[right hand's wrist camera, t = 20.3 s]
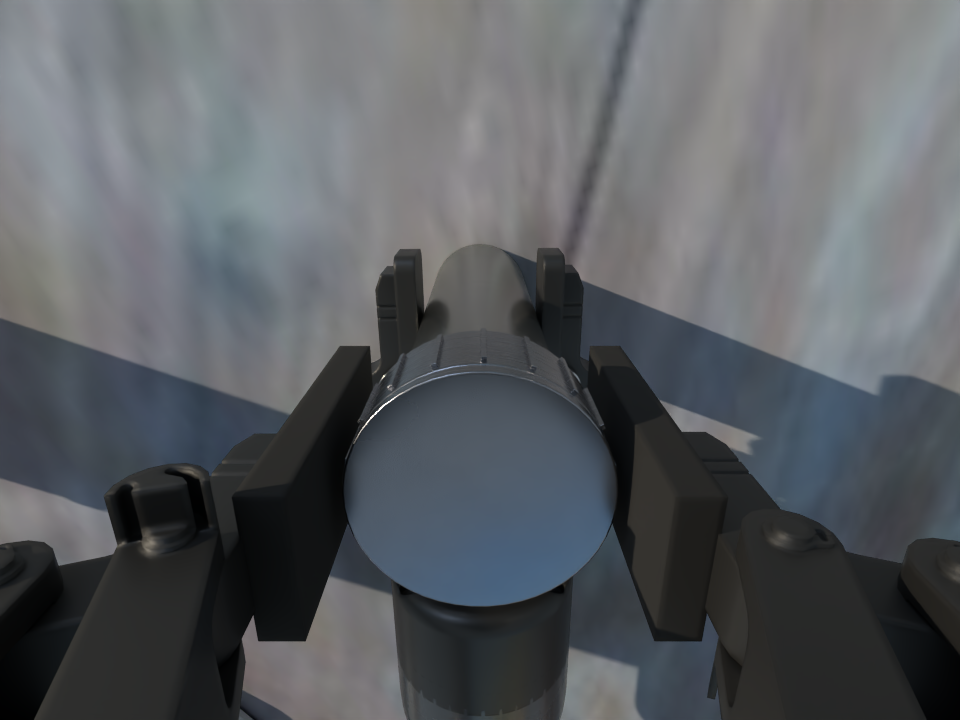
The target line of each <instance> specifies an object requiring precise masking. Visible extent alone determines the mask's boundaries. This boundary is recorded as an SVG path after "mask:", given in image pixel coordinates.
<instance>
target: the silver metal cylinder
mask: <svg viewBox="0 0 960 720" xmlns="http://www.w3.org/2000/svg"><path fill="white" fill-rule="evenodd" d="M481 328H486V331H495V332H503V333H508V334H511V335H515V336H519V337H522V338H524V336H527V337H529V339H530V341H532V342H534V343H536V344H538V345H540V346H542V347H543V348H545V349H547V350H548V347H547V344H546V341H545V338H544V336H543V333H542V330H541V327H540V324H539V321H538V318H537V315H536V313H535V310H534V307H533V304H532V301H531V298H530V295H529V292H528V289H527V287H526V284H525V281H524V278H523V275H522V272H521V270H520V268H519V266H518V265H517V263H516V262H515V261H514V259H513V258H512V257H511V256H510V255H508V254H507V253H506V252H504V251H503V250H501V249H499V248H497V247H493V246H490V245H482V244H478V245H470V246H466V247H464V248H461V249H459V250H457V251H456V252H454V253H453V254H451V255H450V256H449V257H448V258H447V259H446V261H445V262H444V263H443V265H442V266H441V268H440V270H439V272H438V275H437V278H436V281H435V284H434V286H433V289H432V292H431V295H430V298H429V301H428V304H427V307H426V310H425V313H424V315H423V318H422V321H421V324H420V327H419V330H418V333H417V336H416V339H415V342H414V344H413V347H412V350H413V349H415V348H417V347H419V346H421V345H422V344H424V343H426V342H428V341H431V340H433V339H436V338H437V335H439V334H442V335H443V336H445V335H449V334H453V333H457V332H465V331H481ZM412 350H411V351H412ZM548 351H549V350H548Z"/></svg>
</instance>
